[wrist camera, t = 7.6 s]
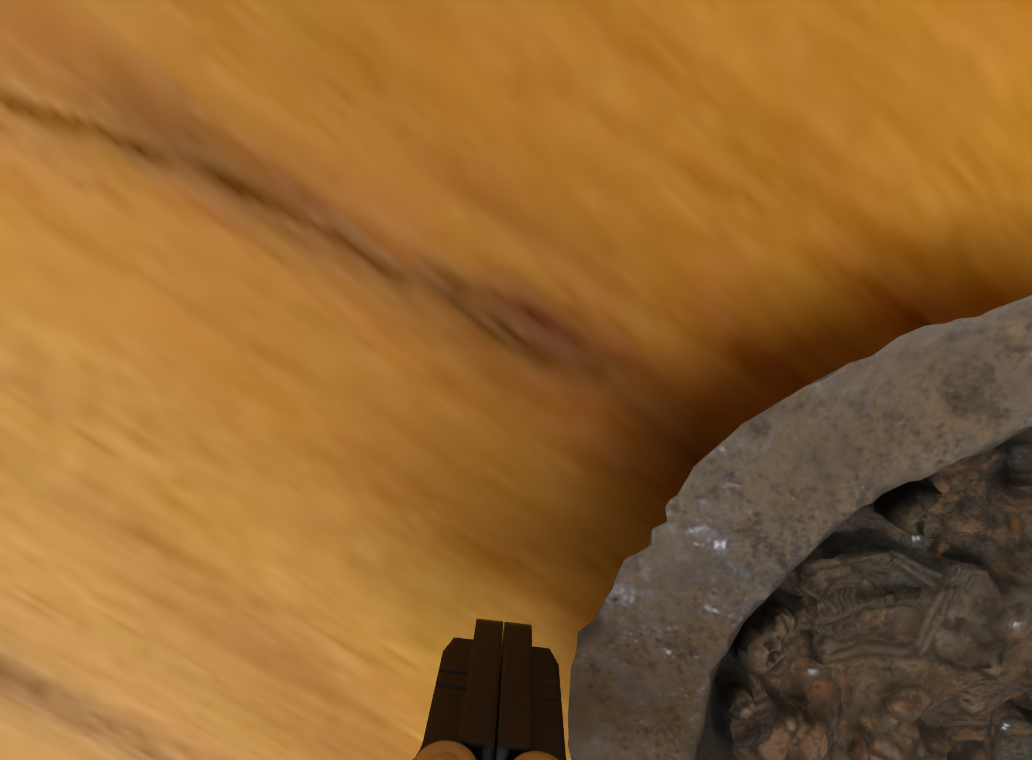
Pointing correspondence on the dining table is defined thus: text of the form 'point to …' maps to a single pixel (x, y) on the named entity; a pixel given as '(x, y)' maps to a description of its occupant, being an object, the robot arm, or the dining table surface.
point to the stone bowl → (838, 573)
